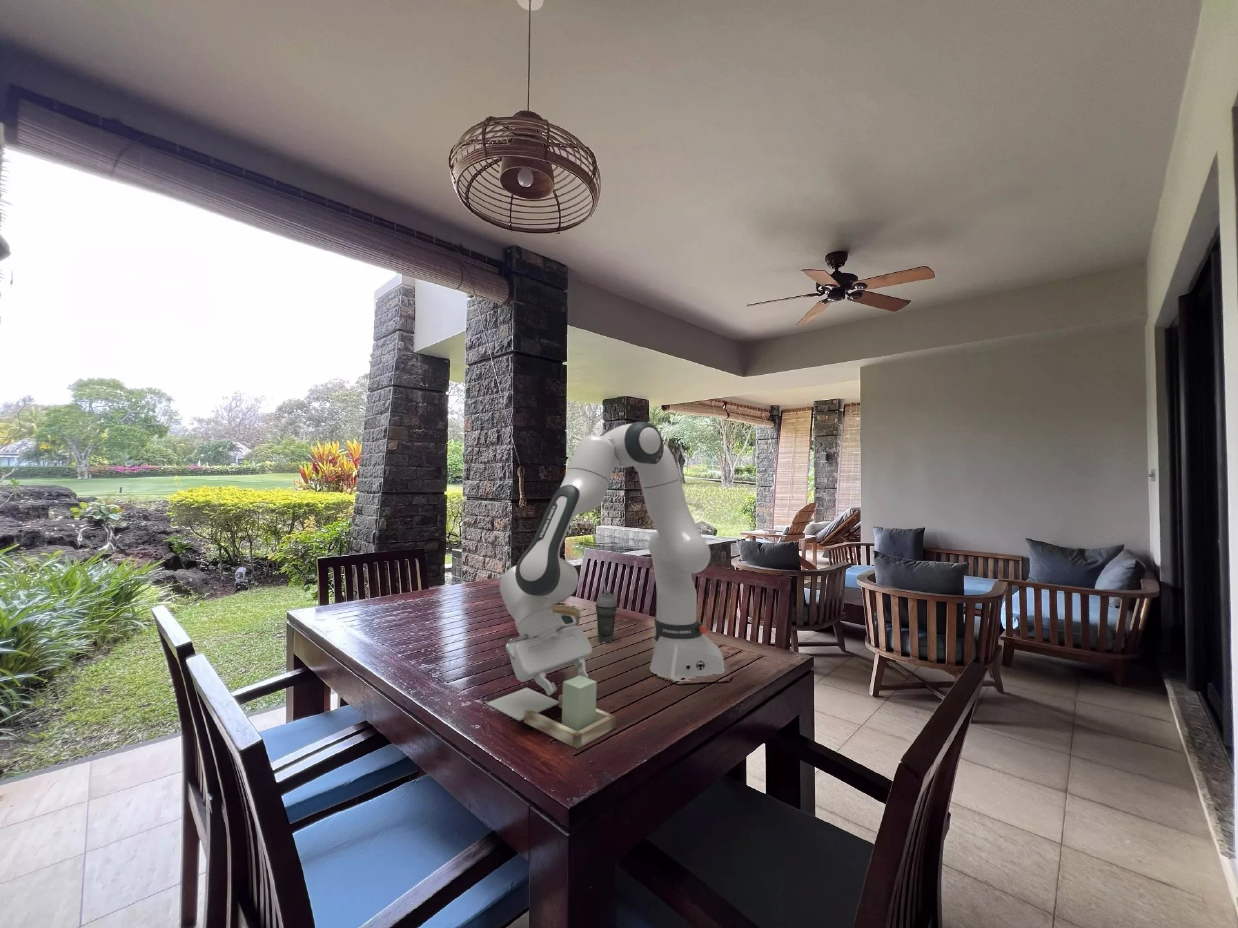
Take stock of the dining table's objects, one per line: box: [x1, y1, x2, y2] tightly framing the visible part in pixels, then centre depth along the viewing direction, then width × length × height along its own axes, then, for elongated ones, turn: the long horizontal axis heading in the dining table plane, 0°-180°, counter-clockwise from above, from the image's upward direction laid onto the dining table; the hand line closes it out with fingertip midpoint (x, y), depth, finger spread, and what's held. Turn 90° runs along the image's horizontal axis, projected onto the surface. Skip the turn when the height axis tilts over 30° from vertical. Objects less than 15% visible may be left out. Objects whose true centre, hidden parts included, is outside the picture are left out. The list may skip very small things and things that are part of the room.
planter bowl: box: [551, 604, 582, 627], centre depth 160 cm, size 16×16×11 cm
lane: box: [523, 693, 616, 750], centre depth 109 cm, size 16×11×2 cm
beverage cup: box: [594, 578, 618, 642], centre depth 166 cm, size 7×7×20 cm
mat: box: [485, 687, 559, 722], centre depth 119 cm, size 12×12×1 cm
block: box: [561, 675, 598, 732], centre depth 107 cm, size 5×5×10 cm
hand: (569, 686), depth 109 cm, fingers open, 8 cm apart
